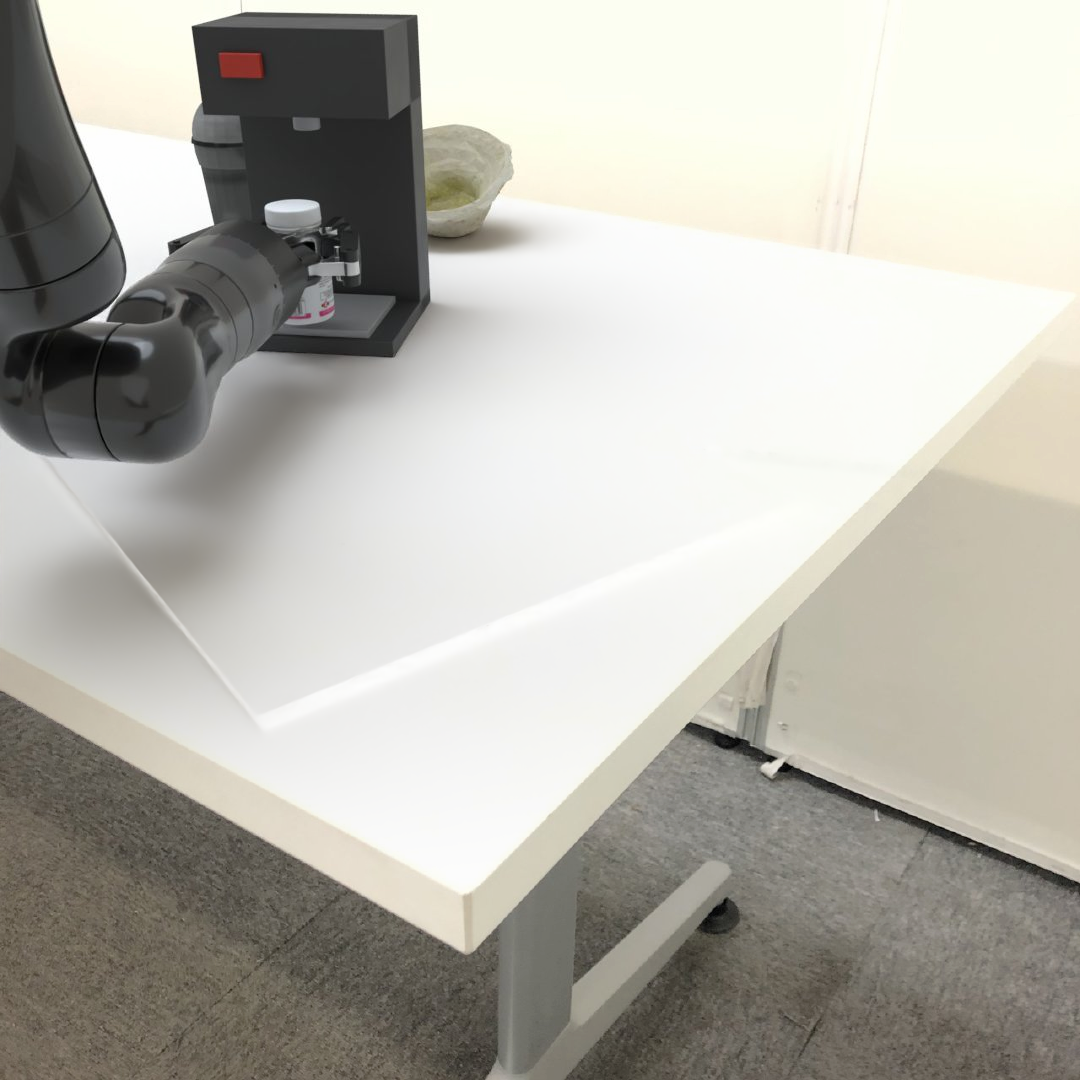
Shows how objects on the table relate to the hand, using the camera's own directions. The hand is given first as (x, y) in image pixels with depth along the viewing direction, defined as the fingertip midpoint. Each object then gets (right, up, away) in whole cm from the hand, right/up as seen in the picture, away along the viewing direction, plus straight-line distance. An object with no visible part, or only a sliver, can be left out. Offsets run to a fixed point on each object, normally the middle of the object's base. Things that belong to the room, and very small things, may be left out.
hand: (306, 229), depth 86 cm
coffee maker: (0, -6, +8) cm, 10 cm away
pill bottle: (0, -7, +1) cm, 7 cm away
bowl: (+8, +8, +33) cm, 35 cm away
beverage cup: (-11, +3, +23) cm, 26 cm away
